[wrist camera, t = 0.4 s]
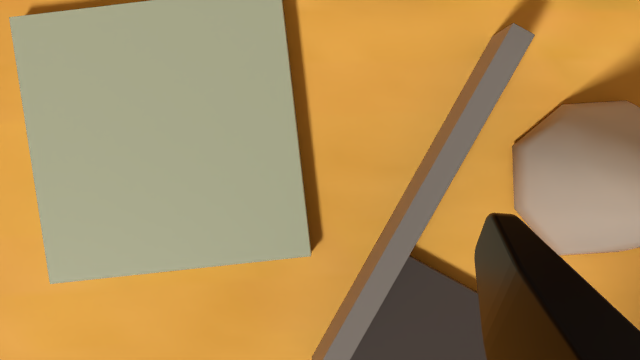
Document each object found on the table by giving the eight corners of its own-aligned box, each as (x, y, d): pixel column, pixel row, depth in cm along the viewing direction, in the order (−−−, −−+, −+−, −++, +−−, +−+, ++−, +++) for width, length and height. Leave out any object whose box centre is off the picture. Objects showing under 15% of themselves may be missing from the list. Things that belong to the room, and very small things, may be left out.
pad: (311, 252, 23) (310, 256, 22) (59, 279, 23) (49, 283, 23) (281, -10, 22) (279, -15, 21) (20, 21, 22) (9, 17, 22)
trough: (567, 494, 24) (595, 535, 21) (311, 357, 23) (309, 382, 21) (759, 185, 23) (813, 190, 20) (492, 36, 22) (513, 22, 20)
